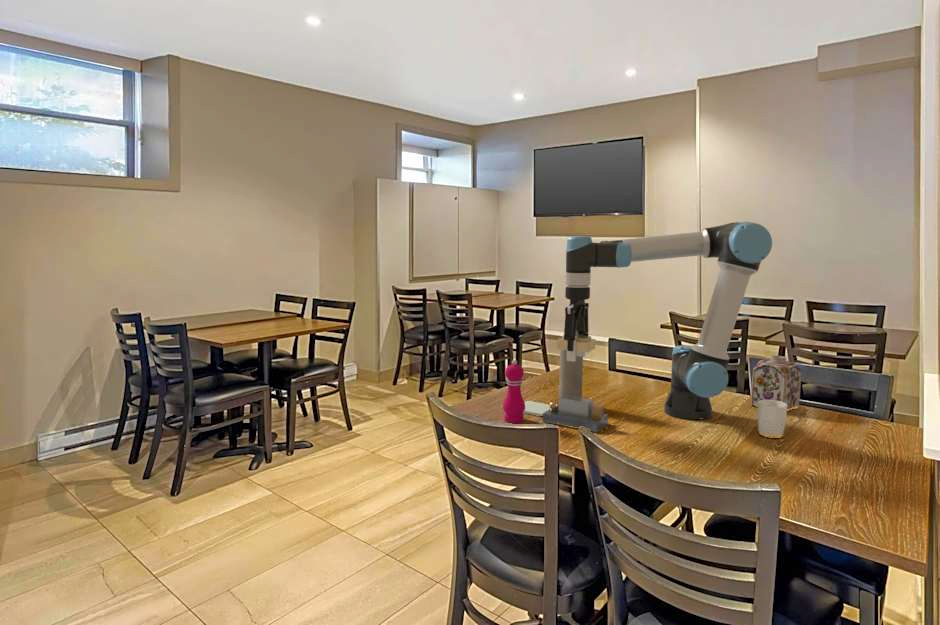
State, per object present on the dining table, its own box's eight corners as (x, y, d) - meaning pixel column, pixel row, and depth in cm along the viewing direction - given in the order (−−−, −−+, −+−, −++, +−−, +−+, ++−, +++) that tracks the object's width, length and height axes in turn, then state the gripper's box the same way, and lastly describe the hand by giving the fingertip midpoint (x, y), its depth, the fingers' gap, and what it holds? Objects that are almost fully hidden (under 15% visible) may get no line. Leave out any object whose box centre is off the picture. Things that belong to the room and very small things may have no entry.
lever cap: (595, 348, 186) (595, 336, 186) (587, 352, 181) (587, 339, 180) (565, 345, 192) (566, 332, 191) (556, 348, 186) (557, 336, 185)
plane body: (607, 423, 189) (608, 399, 188) (596, 432, 180) (597, 407, 179) (555, 413, 198) (556, 390, 197) (543, 422, 190) (543, 398, 189)
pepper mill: (499, 417, 194) (499, 358, 191) (519, 415, 197) (519, 356, 194) (508, 424, 188) (508, 363, 185) (528, 422, 190) (529, 361, 187)
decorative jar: (782, 414, 198) (787, 362, 195) (749, 406, 207) (752, 355, 204) (799, 408, 205) (804, 357, 202) (766, 400, 214) (770, 351, 211)
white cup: (751, 435, 178) (754, 403, 177) (761, 429, 184) (763, 398, 182) (779, 442, 173) (782, 409, 171) (788, 435, 178) (791, 403, 177)
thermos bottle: (558, 401, 213) (559, 324, 208) (580, 401, 212) (582, 324, 208) (559, 407, 205) (561, 328, 201) (582, 408, 204) (584, 328, 200)
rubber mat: (555, 408, 204) (556, 405, 204) (542, 417, 195) (542, 414, 195) (527, 403, 210) (527, 400, 210) (512, 411, 201) (512, 408, 201)
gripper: (578, 282, 193) (576, 351, 197) (553, 288, 177) (551, 363, 180) (600, 284, 190) (598, 354, 193) (576, 289, 173) (574, 366, 176)
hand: (575, 358), depth 187 cm, fingers closed on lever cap, 7 cm apart
